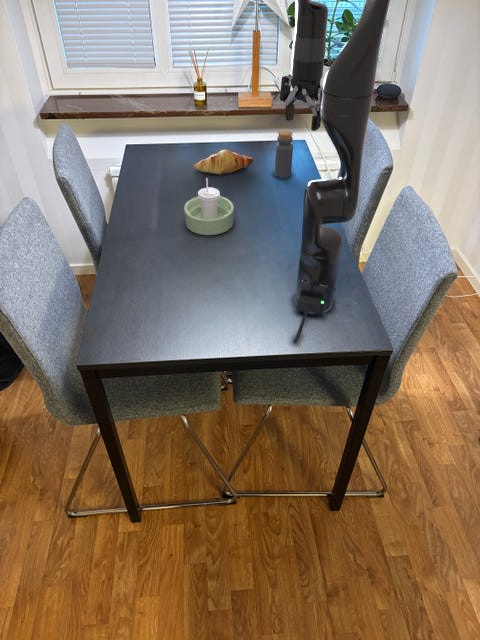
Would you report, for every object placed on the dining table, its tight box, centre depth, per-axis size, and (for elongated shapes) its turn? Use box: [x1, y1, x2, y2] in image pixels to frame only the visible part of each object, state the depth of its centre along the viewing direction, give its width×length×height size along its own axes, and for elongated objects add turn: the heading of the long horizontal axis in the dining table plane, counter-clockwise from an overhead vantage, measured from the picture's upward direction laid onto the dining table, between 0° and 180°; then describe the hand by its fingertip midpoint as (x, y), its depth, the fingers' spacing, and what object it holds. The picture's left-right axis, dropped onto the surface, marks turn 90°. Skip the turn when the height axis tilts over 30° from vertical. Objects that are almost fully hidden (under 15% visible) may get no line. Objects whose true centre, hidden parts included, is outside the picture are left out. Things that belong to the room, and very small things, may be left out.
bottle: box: [273, 129, 294, 179], centre depth 172 cm, size 6×6×15 cm
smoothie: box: [197, 177, 221, 219], centre depth 149 cm, size 6×6×14 cm
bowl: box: [183, 195, 235, 236], centre depth 152 cm, size 15×15×6 cm
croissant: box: [193, 149, 254, 175], centre depth 178 cm, size 21×10×8 cm, turn 104°
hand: (302, 124), depth 129 cm, fingers open, 8 cm apart
